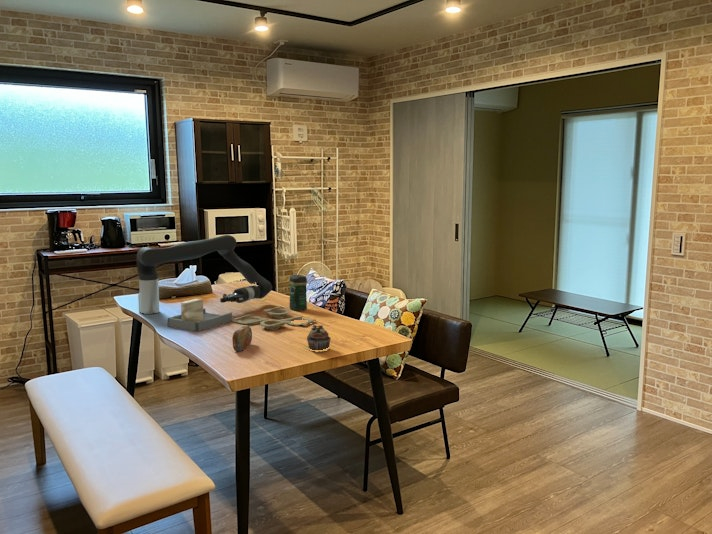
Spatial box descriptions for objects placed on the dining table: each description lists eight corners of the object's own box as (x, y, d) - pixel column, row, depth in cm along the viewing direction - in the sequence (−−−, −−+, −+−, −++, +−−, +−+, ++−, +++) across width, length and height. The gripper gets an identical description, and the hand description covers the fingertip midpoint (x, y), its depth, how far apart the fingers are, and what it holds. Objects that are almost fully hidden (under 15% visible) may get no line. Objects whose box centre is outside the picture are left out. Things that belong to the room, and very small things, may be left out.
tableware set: (228, 321, 279) (228, 313, 278) (275, 312, 300) (275, 304, 300) (274, 335, 255) (274, 326, 255) (322, 324, 277) (322, 316, 276)
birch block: (181, 323, 264) (181, 302, 262) (197, 319, 272) (196, 298, 271) (188, 324, 262) (187, 303, 260) (203, 320, 271) (203, 299, 269)
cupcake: (332, 352, 230) (332, 328, 229) (308, 353, 228) (308, 329, 227) (328, 346, 240) (328, 322, 238) (305, 347, 238) (305, 323, 236)
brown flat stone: (238, 353, 227) (238, 333, 226) (231, 353, 228) (230, 332, 226) (252, 343, 242) (252, 323, 240) (245, 342, 242) (245, 323, 241)
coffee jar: (309, 310, 304) (309, 275, 302) (296, 312, 300) (296, 276, 297) (299, 306, 312) (299, 273, 309) (287, 308, 307) (287, 274, 305)
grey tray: (167, 326, 266) (167, 318, 265) (204, 316, 287) (203, 308, 286) (197, 331, 258) (196, 323, 257) (232, 320, 279) (232, 312, 278)
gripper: (233, 286, 302) (211, 291, 286) (253, 288, 295) (231, 294, 280) (234, 300, 303) (211, 306, 288) (254, 303, 297) (232, 309, 281)
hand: (221, 300), depth 284 cm, fingers closed
